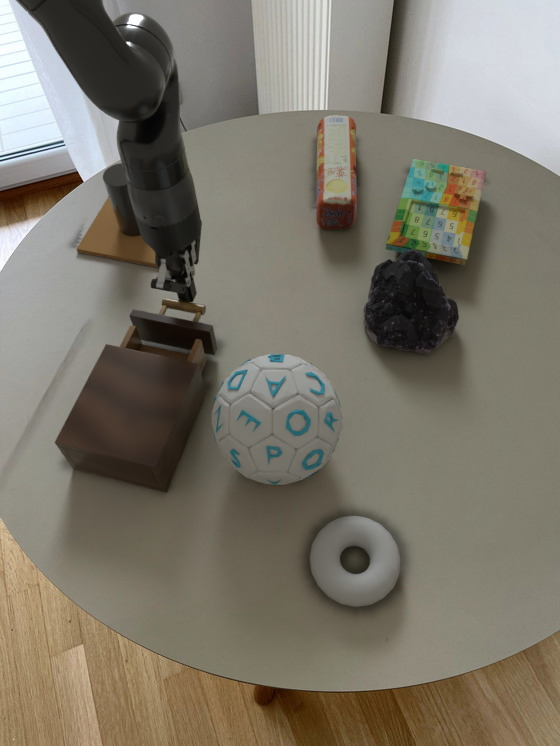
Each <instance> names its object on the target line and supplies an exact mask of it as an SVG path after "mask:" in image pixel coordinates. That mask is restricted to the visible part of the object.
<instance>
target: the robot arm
mask: <svg viewBox="0 0 560 746" xmlns="http://www.w3.org/2000/svg"><path fill="white" fill-rule="evenodd" d="M15 2H17V4H19V6H20V7H21V8H22V9H23V10H24V11H25V12H27V14H28V15H29V16H30V17H31V18H32V19H33V20H34V21H35V22H36V23H37V24H38V25H39V26H40V27H41V29H42V30H43V32H44V33H45V35H46V36H47V38H48V40H49V41H50V43H51V45H52V47H53V49H54V50H55V52H56V54H57V55H58V57H59V58H60V59H61V61H62V63H63V64H64V65H65V67H66V69H67V70H68V71H69V73H70V75H71V76H72V78H73V79H74V81H75V82H76V84H77V86H78V87H79V88H80V90H81V92H83V94H84V95H85V96H86V97H87V99H88V100H89V101H90V102H91V103H92V104H93V105H94V106H96V108H97V109H98V110H99V111H101V112H102V113H104V114H105V115H107V116H109V117H111V118H112V119H113V120H117V121H118V123H117V128H116V146H117V151H118V155H119V159H120V161H121V162H120V163H122V166H123V169H124V172H125V176H126V179H127V187H128V193H129V197H130V200H131V204H132V207H133V210H134V214H135V217H136V221H137V224H138V227H139V231H140V234H141V237H142V239H143V240H144V242H145V243H146V244H147V245H148V246H149V247H151V248H152V249H153V250H154V252H155V263H156V265H157V267H156V268H158V274H157V275H156V277H155V278H152V279H151V281H150V288H151V289H153V290H158V291H164V292H170V293H176V295H177V298H178V299H177V300H180V301H185V302H191V303H194V300H195V299H196V296H197V292H198V291H197V287H196V284H195V279H194V277H195V275H196V269H195V266H197V265H198V264H199V261H200V250H201V237H202V226H203V221H202V219H201V213H200V208H199V203H198V197H197V191H196V187H195V183H194V178H193V174H192V172H191V170H190V166H189V162H188V157H187V151H186V146H185V142H184V138H183V133H182V129H181V102H180V101H181V100H180V99H181V98H180V78H179V77H180V76H179V67H178V60H177V54H176V52H175V48H174V45H173V42H172V40H171V37H170V36H169V34H168V33H167V31H166V29H164V27H163V26H162V25H161V24H160V23H159V22H158V21H157V20H156V19H154V18H153V17H151V16H150V15H147V14H145V13H142V12H137V11H134V12H133V11H131V12H126V13H123V14H121V15H119V16H117V17H115V18H114V19H113V20H112V18H111V17H110V15H109V14H108V13H107V12H108V11H106V8H105V5H104V0H15Z"/></svg>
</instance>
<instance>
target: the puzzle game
mask: <svg viewBox="0 0 560 746" xmlns="http://www.w3.org/2000/svg"><path fill="white" fill-rule="evenodd" d="M486 175H487V170H482V169H475V168H471V167H470V168H469V167H464V166H458V165H453V164H447V163H442V162H434V161H429V160H424V159H417V158H413V159H412V162H411V165H410V168H409V171H408V175H407V177H406V181H405V184H404V187H403V190H402V193H401V196H400V199H399V203H398V206H397V209H396V212H395V216H394V219H393V222H392V224H391V228H390V231H389V234H388V238H387V240H386V243H385V250H387V251H391V252H396V253H401V254H402V253H404V252H405V251H407V250H410V249H414V250H417V251H419V252H420V253H421V254H422V255H423V256H424V257H425V258H426V259H431V260H437V261H440V262H441V261H442V262H447V263H451V264H457V265H461V266H466V265H467V261H468V258H469V253H470V248H471V244H472V239H473V234H474V230H475V226H476V220H477V217H478V212H479V207H480V202H481V199H482V194H483V189H484V184H485V180H486Z"/></svg>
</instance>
